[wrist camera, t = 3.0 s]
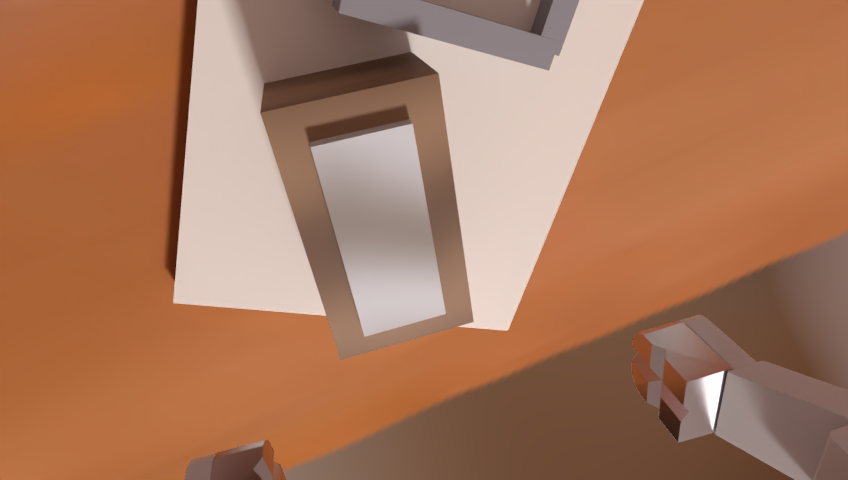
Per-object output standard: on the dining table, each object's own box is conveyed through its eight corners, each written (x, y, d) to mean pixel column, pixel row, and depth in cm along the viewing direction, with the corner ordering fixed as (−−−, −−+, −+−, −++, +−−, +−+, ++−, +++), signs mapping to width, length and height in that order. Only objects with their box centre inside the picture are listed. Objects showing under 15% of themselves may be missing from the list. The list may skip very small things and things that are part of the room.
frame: (447, 270, 25) (477, 329, 21) (332, 301, 24) (342, 368, 20) (411, 51, 19) (443, 76, 16) (264, 83, 19) (259, 117, 15)
